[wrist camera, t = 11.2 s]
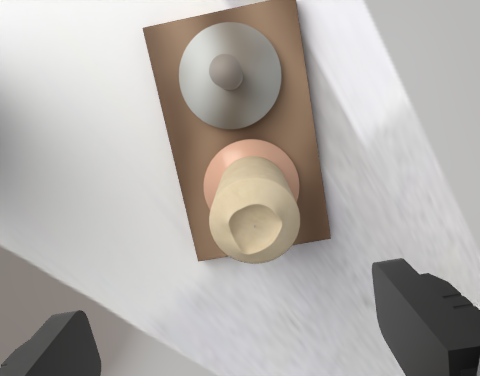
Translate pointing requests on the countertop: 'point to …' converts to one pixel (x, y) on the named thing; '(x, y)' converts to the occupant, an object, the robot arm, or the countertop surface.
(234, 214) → the candle
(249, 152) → the pad
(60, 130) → the countertop surface
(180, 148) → the board
